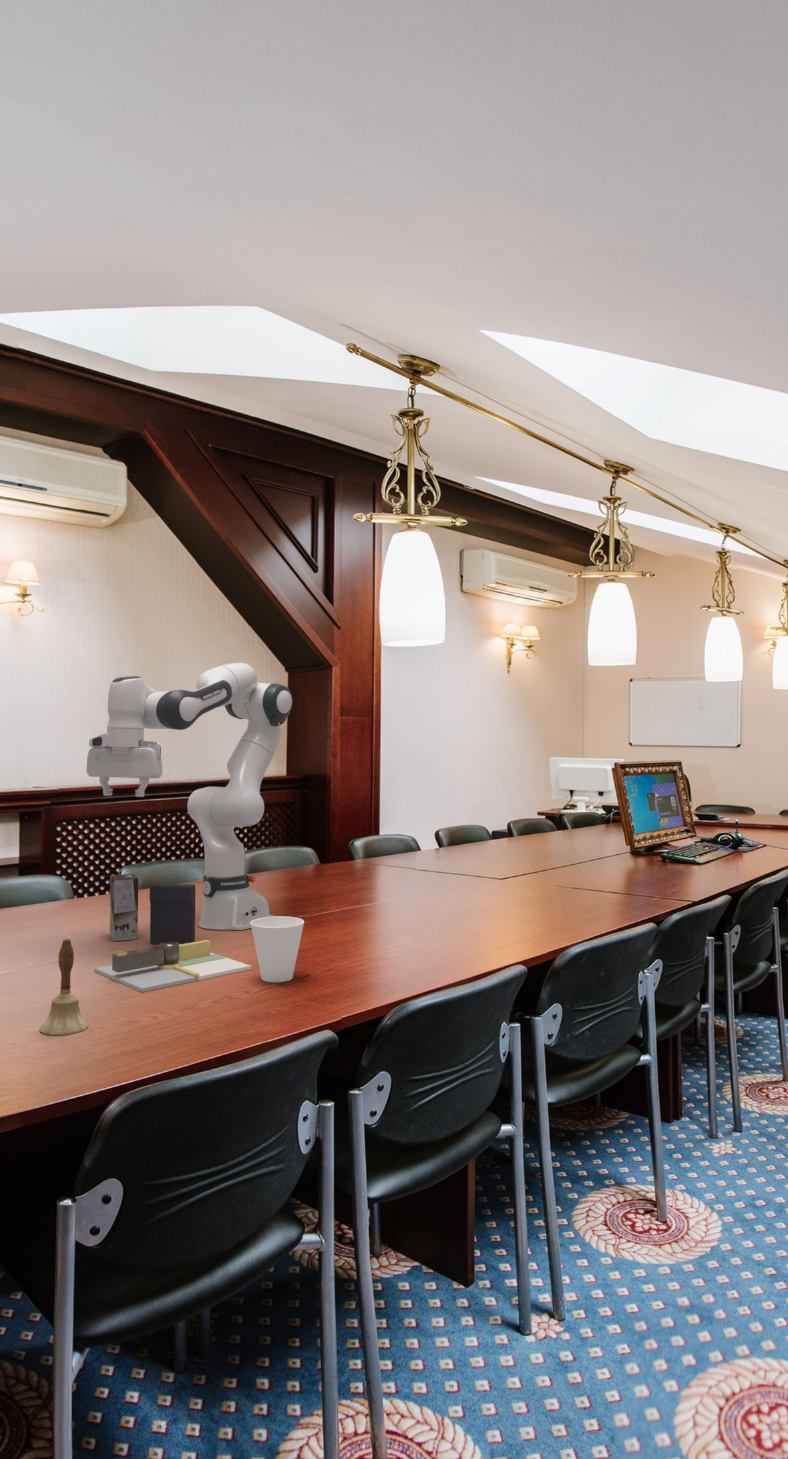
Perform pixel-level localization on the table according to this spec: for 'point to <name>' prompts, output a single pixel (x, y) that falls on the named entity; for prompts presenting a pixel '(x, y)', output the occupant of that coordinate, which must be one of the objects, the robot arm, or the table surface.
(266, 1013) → the table surface
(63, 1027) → the hand bell
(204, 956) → the base
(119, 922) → the coffee box
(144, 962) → the bar
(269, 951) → the cup
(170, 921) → the dark blue box
